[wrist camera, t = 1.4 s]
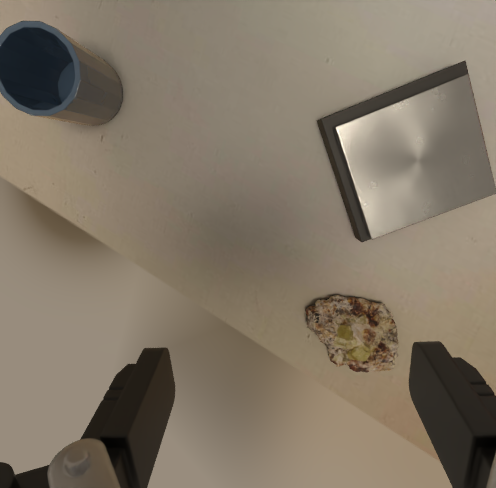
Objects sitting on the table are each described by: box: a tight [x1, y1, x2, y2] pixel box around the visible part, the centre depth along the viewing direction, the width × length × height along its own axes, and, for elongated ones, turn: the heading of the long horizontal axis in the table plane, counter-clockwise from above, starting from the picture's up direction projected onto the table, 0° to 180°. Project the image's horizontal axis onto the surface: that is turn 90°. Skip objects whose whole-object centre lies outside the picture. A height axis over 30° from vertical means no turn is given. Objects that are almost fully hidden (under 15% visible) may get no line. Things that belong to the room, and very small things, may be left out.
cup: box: [0, 21, 123, 126], centre depth 30 cm, size 6×6×9 cm
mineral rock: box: [306, 295, 399, 372], centre depth 38 cm, size 11×4×8 cm
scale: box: [317, 61, 496, 242], centre depth 34 cm, size 12×13×3 cm
